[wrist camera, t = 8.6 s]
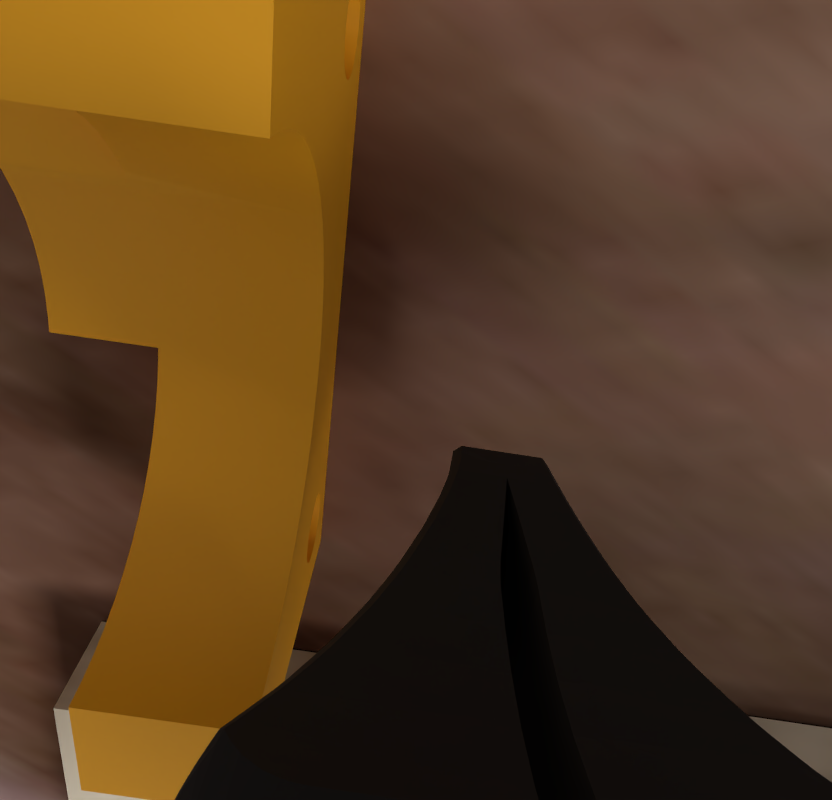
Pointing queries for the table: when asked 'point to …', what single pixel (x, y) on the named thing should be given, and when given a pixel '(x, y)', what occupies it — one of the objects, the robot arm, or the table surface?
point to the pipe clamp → (194, 326)
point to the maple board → (811, 744)
